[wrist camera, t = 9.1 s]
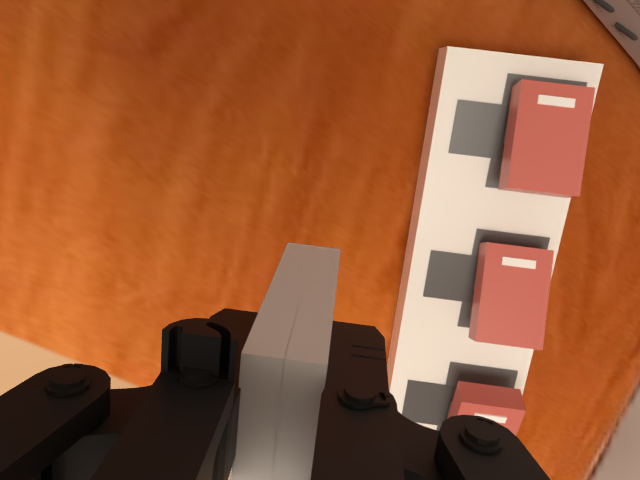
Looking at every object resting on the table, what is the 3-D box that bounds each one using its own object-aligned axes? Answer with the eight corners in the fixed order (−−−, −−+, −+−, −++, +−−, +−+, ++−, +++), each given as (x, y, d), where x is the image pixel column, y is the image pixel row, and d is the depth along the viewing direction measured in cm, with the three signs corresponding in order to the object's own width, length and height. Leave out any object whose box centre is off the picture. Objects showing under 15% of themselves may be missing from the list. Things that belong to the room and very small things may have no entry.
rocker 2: (479, 243, 36) (487, 242, 34) (543, 250, 36) (554, 250, 34) (468, 337, 36) (475, 341, 34) (532, 345, 36) (543, 350, 34)
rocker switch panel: (439, 48, 37) (449, 45, 33) (578, 64, 37) (608, 63, 32) (378, 419, 45) (379, 457, 41) (491, 434, 45) (506, 475, 40)
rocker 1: (512, 86, 33) (522, 78, 31) (581, 95, 33) (596, 87, 31) (498, 189, 33) (507, 187, 32) (566, 198, 33) (580, 196, 31)
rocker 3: (458, 380, 37) (461, 403, 36) (520, 389, 37) (526, 412, 35) (440, 441, 40) (442, 464, 39) (496, 449, 40) (501, 473, 39)
